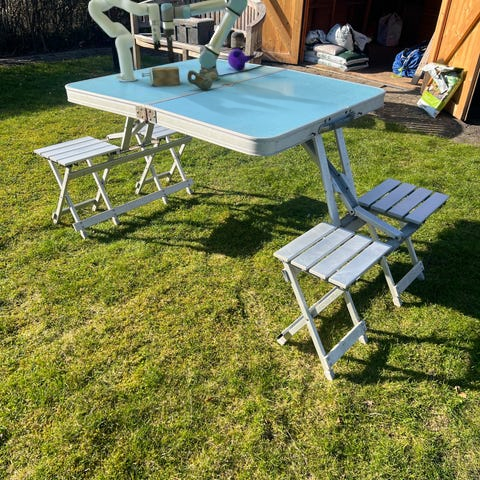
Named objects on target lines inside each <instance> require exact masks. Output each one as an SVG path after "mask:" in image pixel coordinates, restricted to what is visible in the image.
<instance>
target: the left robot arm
mask: <svg viewBox="0 0 480 480" xmlns="http://www.w3.org/2000/svg"><path fill="white" fill-rule="evenodd" d="M113 7H116V8H119V9H122V10H124V11H126V12H127V13H130V14H132V15H135V16H138V17H142V16H148V23H149V26H150V27H151V37H152V38H151V39H152V41H153V50H154V51H159V50H160V49H161V48H162V46H161V40H162V33H161V15H160V6H159V4H158V3H146V2H142V3H138V2H135V1H132V0H90V1H89V2H88V8H87V9H88V13H89V15H90V17H91V18H92V19H93V20H94V22H95V23H96V24H97V25H98V26H99V27H100V28H101V29H102V30H103V31H104V32H105V33H106V34H107V35H108V36H109V37H110V38H116V39H115V48H116V52H117V56H118V62H119V67H120V68H119V69H120V74H119V75H115V76H114V78H115V79H117V80H119V81H120V82H123V83H126V82H128V83H130V82H135V81H137V79H138V78H137V77H135V71H134V63H133V55H132V52H131V48H132V47H134V46H135V44H136V41H135V37H134V36H133V35H132V33H131V32H130V31H129V30H128V29H127V28H126V27H125V26H124V25H123V24H122V23H120V22H114V21H112V20H111V19H110V18H109V17H108V15H106V14H104V12H106V11H108V10H110V9H112V8H113Z"/></svg>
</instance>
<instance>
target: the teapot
mask: <svg viewBox="0 0 480 480" xmlns="http://www.w3.org/2000/svg"><path fill="white" fill-rule="evenodd" d="M192 76H194V77H195V78H192ZM217 79H218V76H217V74H216V73H214V72H210V73H207V70H206V69H205V67H203V66H202V69H201V68H200V69H199V72H197V71H195V70H191V69H190V70H189V71H188V72H187V81H188V83H189V84H190V85H193V86H195V87H197V88H198V89H200V90H203V91H204V90H205V91H206V90H209V89H212V86H213V83H214V82H216V81H218V80H217Z"/></svg>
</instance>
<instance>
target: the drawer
mask: <svg viewBox="0 0 480 480" xmlns="http://www.w3.org/2000/svg"><path fill="white" fill-rule="evenodd" d="M141 77H142V78H145V77H149V83H150V86H154V84H153V75H152V69H148V73H147V72H145V73H144V72H141Z"/></svg>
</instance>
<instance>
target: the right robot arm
mask: <svg viewBox="0 0 480 480" xmlns="http://www.w3.org/2000/svg"><path fill="white" fill-rule="evenodd" d="M248 2H249V1H248V0H205V1H199V2H193V3H190V4H182V5H180V6H173V4H172V3H167V2H166V3H162V4H161V7H160V8H161V12H160V13H161V19H162V22H161V23H162V29H163V30H162V33H163V36H166V38H165V39H166V48H167V57H168V58H167V59H168V61H169V63H170V64H174V63H175V57H174V46H173V44H174V43H173V37H172V36H175V29H174V28H175V26H174V25H175V22H174V20H190V19H191V17H195V16H198V15H204V14H210V13H214V12H220V11H225V12H224V15H222V18H221V20H220V21H219V24H218V26H217V28H216V29H215V32H214V33H213V35H212V36H211V39H210V41H209V43H207V44H205V45H204V46H200V47H199V57H198V61H199V64H200V69H202V66H203V67H205V69H206V70H207V73H210V72H214V73H216V74H217V76H218V79H217V80H216V81H218V80H220V77H225V76H229V75H234V74H241V73H245V72H249V71H252V70H256V69H258V68H261V67H264V66H265V67H266V66H268V65H270V66H273V64H272V63H271V62H268V63H264V64H262V65H259V66H255V67H251V68H249V69H243V70H241V71H233V72H228V73H224V74H219V72H218V69H217V60H218V58H219V56H220V55H221V52H220V50H221V48H222V46H223V45H224V43H225V41H226V40H227V37H228V35H229V34H230V32H231V31H232V28H233V26H234V25H235V23H236V21H237V19H240V18H241V17H242V15H243V13H244V12H245V10H246V9H247V7H248V5H249V3H248Z"/></svg>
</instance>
